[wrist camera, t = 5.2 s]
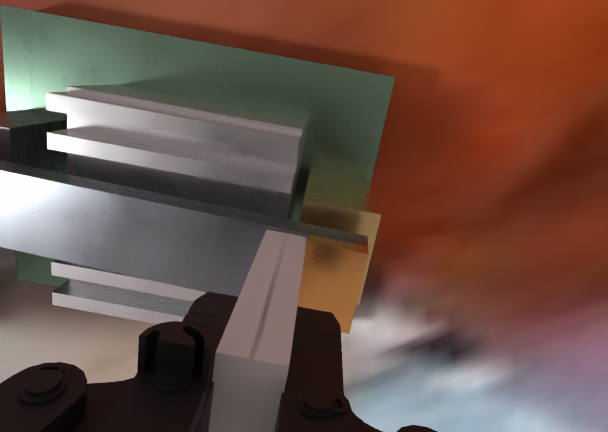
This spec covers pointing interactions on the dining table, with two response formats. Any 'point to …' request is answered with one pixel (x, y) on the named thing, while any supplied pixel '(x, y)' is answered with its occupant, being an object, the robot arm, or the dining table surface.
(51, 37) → the circuit board
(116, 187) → the silver elongated bar
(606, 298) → the dining table surface
